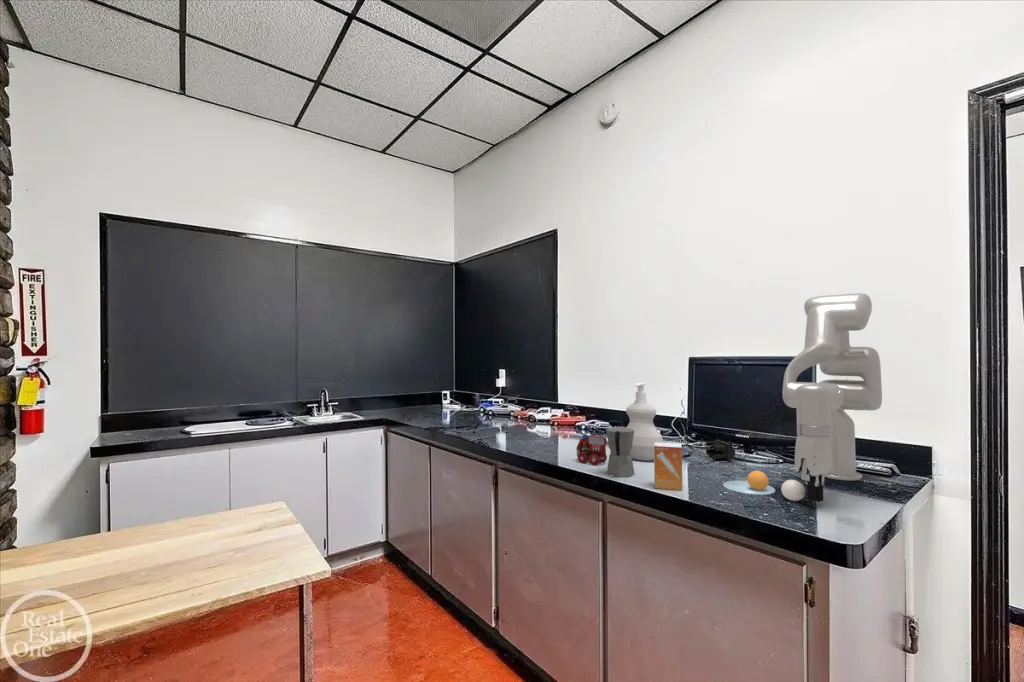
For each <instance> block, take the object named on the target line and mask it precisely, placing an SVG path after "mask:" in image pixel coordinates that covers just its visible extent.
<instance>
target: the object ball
mask: <svg viewBox="0 0 1024 682" xmlns="http://www.w3.org/2000/svg"><path fill="white" fill-rule="evenodd" d="M746 481H748V484H749V485H750V487H752V488H753V489H755V490H764V489H765V488H767V486H768V485H769V484H770V483H769V482H770V481H769V478H768V476H767V475H766V474H765V473H764V472H763V471H760V470H752V471H751V472H750V473H749V474H748V475H747V479H746Z"/></svg>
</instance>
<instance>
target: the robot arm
mask: <svg viewBox="0 0 1024 682" xmlns="http://www.w3.org/2000/svg"><path fill="white" fill-rule="evenodd" d="M803 306H804V307H803V309H804V312H805V315H806V326H805V338H804V349H803V350H802V351H801V352H799V353H798V354H797V355H796V356H795V357H794V358H793V359H792V360H791V361H790V362H789V363H788V365H787V367H786V369H785V371H784V373H783V383H782V400H783V403H784V404H785V405H786V406H787V407H788V408H793V409H796V439H795V448H794V471H795V472H796V473H797V474H801V476H800V478H801V480H802V481H805V484H806V486H807V487H806V488H807V490H806V492H807V493H806V494H807V500H810V501H813V502H817V503H821V502H824V485H825V478H826V477H827V478H826V479H832V480H837V481H849V482H850V481H854V482H855V481H860V480H862V479H863V475H862V473H860V472H858V471H857V469H856V468H857V467H856V466H857V465H859V464H860V463H859V462H858V461H857V459H856V431H855V426H856V425H855V422H854V420H853V419H852V417H851V416H850V415H849V414H848V413H847V412H846V411H845V410H850V411H851V410H852V411H853V410H854V411H870V412H871V411H876V410H877V411H878V410H879V409H880V408H881V406H882V403H883V389H882V371H881V370H882V369H881V358H880V354H879V352H878V350H876V349H875V348H874V347H871V346H851V345H850V331H862V330H864V329H865V328H866V327H867V325H868V324H869V323H868V322H869V321H870V317H871V315H872V312H873V311H872V310H873V304H872V299H871V298H870V296H869V295H868V294H866V293H864V292H863V293H861V292H859V293H846V294H844V293H843V294H831V295H819V296H814V297H809V298H808V299H806V301H805V302H804V304H803ZM817 365H818V366H819V370H820V371H821V373H822V374H824V375H827V376H834V377H858V378H859V377H860V378H861V380H858V379H857V380H855V379H854V380H852V379H825V380H821V381H819V382H810V381H809V382H806V381H804V382H803V381H797V378H798V377H799V375H800V374H801V373H802V372H804V371H806V370H808V369H809V368H812V367H814V366H817Z"/></svg>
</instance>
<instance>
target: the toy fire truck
mask: <svg viewBox="0 0 1024 682" xmlns="http://www.w3.org/2000/svg"><path fill="white" fill-rule="evenodd" d="M607 445H608V438H607V437H605V436H600V435H599V436H597V435H588V434H585V433H584V434H583V435H582V438H580V440H579V441H578V443H577V446H576V456H577V460H578V462H579V463H580V462H581V464H586V463H587V462H588V461H589V463H590V465H592V466H597V465H599V464H600V463H601V462H603V463H605V462H607V459H608V455H607V448H606V446H607Z"/></svg>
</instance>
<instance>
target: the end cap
mask: <svg viewBox="0 0 1024 682" xmlns="http://www.w3.org/2000/svg"><path fill="white" fill-rule="evenodd" d="M705 447H713V448H706V449H705V453H706V457H707V456H708V457H710V458H712V459H713V460H715V461H729V462H730V461H731V460H733V459H734V457H735V456H736V449H735V448H734V446H732V445H730V444H729V443H728V442H727V443H726V442H724V441H722V440H719V439H715V441H714V440H713V441H708V440H707V441H705ZM708 457H707V458H708ZM713 460H712V461H713ZM715 461H714V462H715Z"/></svg>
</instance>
